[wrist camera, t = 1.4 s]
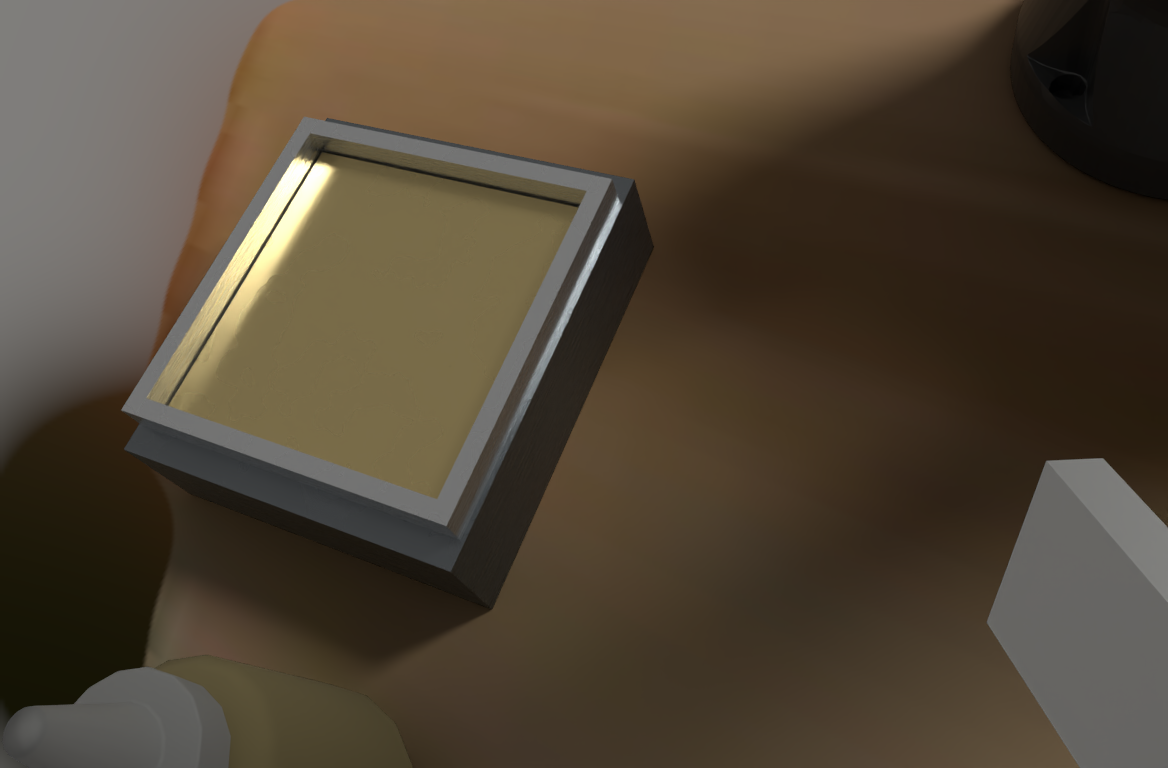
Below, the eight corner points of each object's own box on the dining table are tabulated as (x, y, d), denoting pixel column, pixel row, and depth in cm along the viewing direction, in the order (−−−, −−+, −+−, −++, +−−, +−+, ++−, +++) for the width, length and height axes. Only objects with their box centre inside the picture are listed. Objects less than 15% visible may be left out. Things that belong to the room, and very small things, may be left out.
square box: (368, 183, 55) (313, 96, 49) (654, 246, 49) (627, 156, 43) (189, 493, 48) (101, 434, 43) (492, 609, 42) (436, 559, 37)
